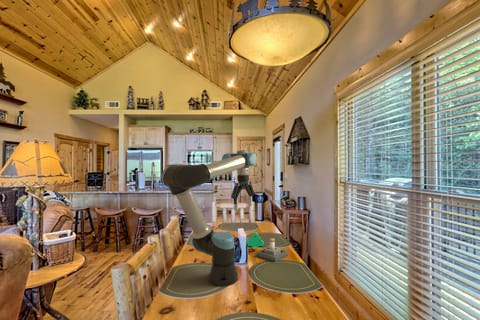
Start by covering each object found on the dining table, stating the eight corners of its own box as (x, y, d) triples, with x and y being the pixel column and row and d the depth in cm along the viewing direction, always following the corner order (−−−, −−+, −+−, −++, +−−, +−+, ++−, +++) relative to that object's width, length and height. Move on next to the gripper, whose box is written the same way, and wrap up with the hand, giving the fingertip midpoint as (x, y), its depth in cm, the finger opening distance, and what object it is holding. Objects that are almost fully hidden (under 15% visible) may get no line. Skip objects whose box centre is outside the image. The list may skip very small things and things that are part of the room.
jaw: (272, 255, 163) (272, 240, 163) (268, 254, 165) (267, 239, 166) (276, 254, 165) (275, 238, 166) (271, 253, 168) (271, 237, 168)
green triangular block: (263, 244, 190) (263, 230, 190) (263, 247, 182) (263, 233, 182) (247, 244, 190) (247, 230, 190) (246, 247, 183) (246, 233, 183)
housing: (275, 262, 156) (275, 254, 156) (257, 256, 165) (257, 248, 165) (287, 255, 166) (287, 247, 166) (269, 250, 175) (269, 243, 175)
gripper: (233, 175, 153) (234, 211, 153) (259, 173, 171) (259, 205, 171) (225, 175, 158) (225, 209, 158) (250, 173, 176) (251, 204, 176)
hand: (243, 207), depth 164 cm, fingers open, 13 cm apart
